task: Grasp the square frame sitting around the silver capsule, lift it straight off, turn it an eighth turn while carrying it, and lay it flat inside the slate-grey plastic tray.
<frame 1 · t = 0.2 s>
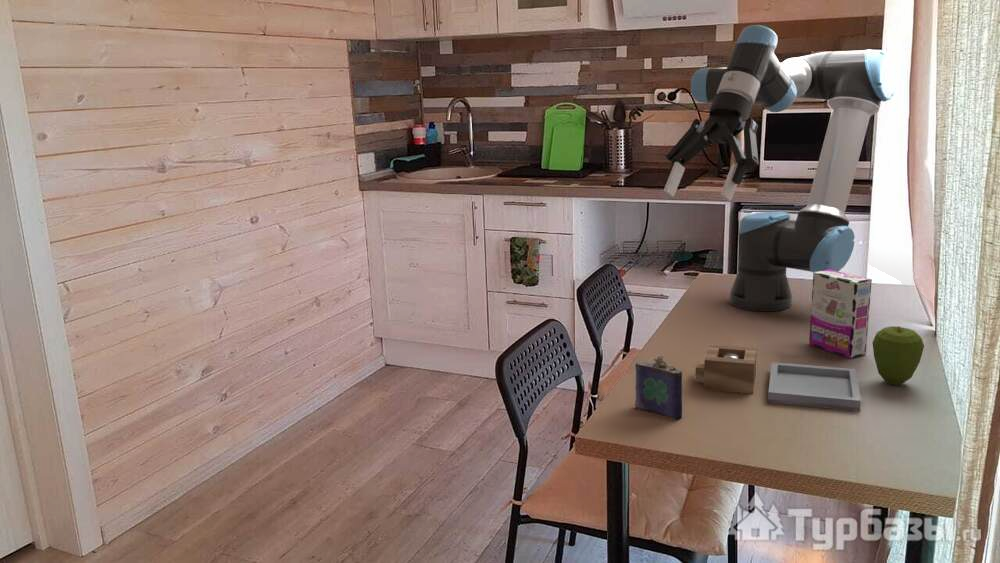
hand: (695, 196, 154), 35 cm above the table, tool tilted 35°, fingers open, 13 cm apart
tray: (812, 390, 150), on the table
flask: (658, 413, 143), on the table
apple: (894, 384, 151), on the table
silver capsule: (730, 382, 155), on the table
candy bar box: (836, 350, 170), on the table
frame: (730, 382, 155), on the table
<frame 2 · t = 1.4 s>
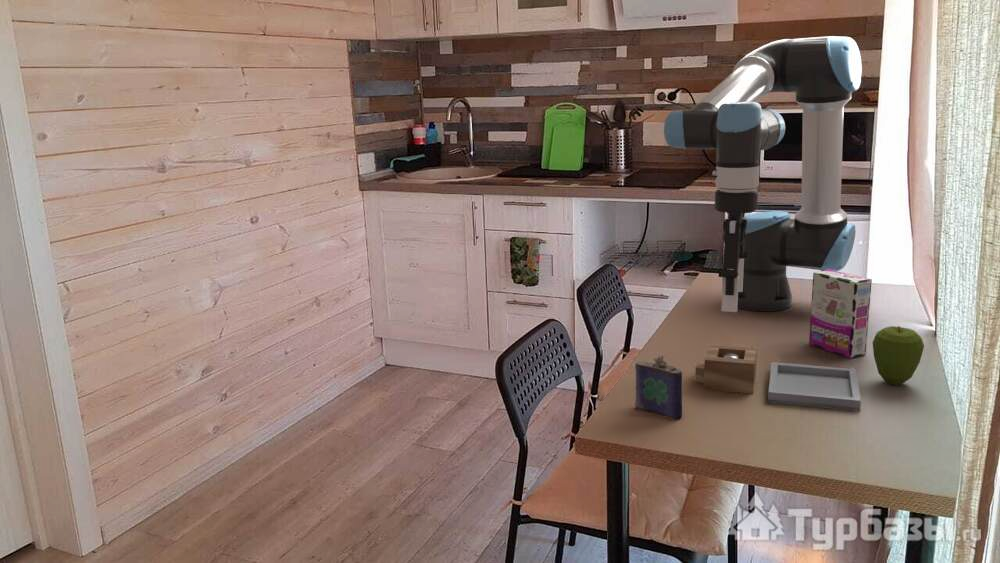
hand: (732, 300, 150), 17 cm above the table, tool pointing down, fingers open, 13 cm apart
nothing on the table moved.
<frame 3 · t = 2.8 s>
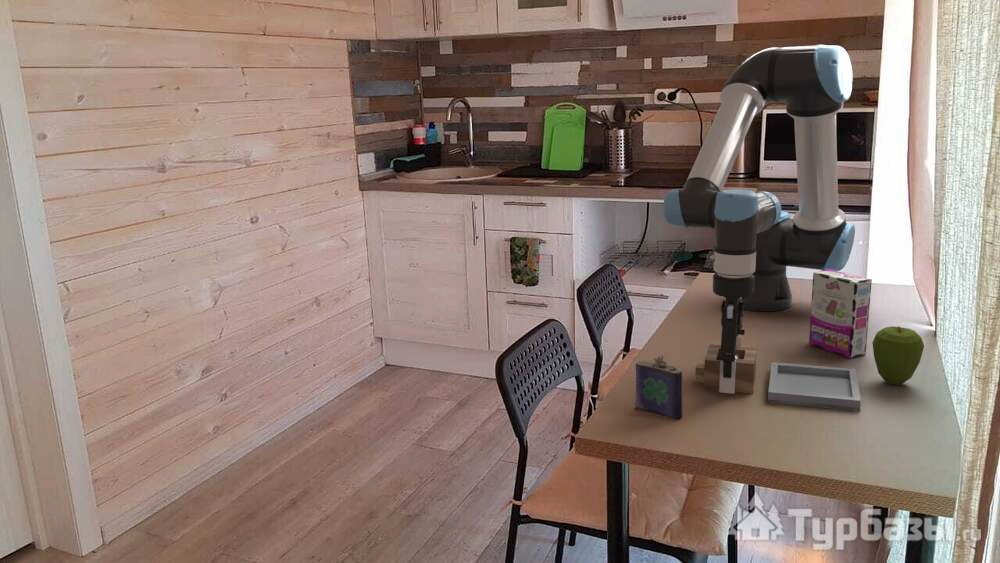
hand: (729, 379, 155), 1 cm above the table, tool pointing down, fingers open, 13 cm apart
nothing on the table moved.
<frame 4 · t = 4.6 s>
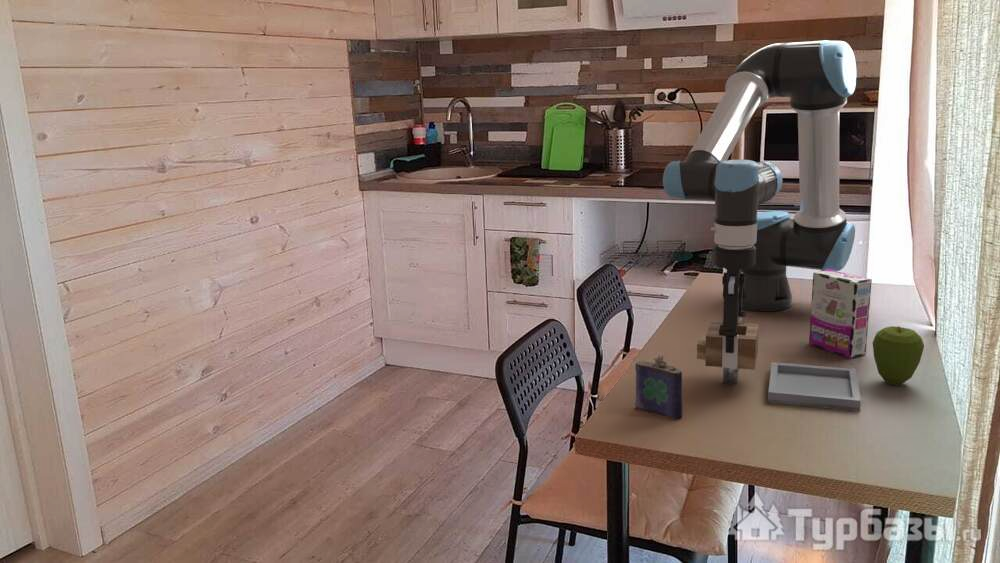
hand: (731, 357, 154), 5 cm above the table, tool pointing down, fingers closed on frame, 9 cm apart
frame: (731, 359, 154), point 5 cm above the table, touching gripper
everything else where it was.
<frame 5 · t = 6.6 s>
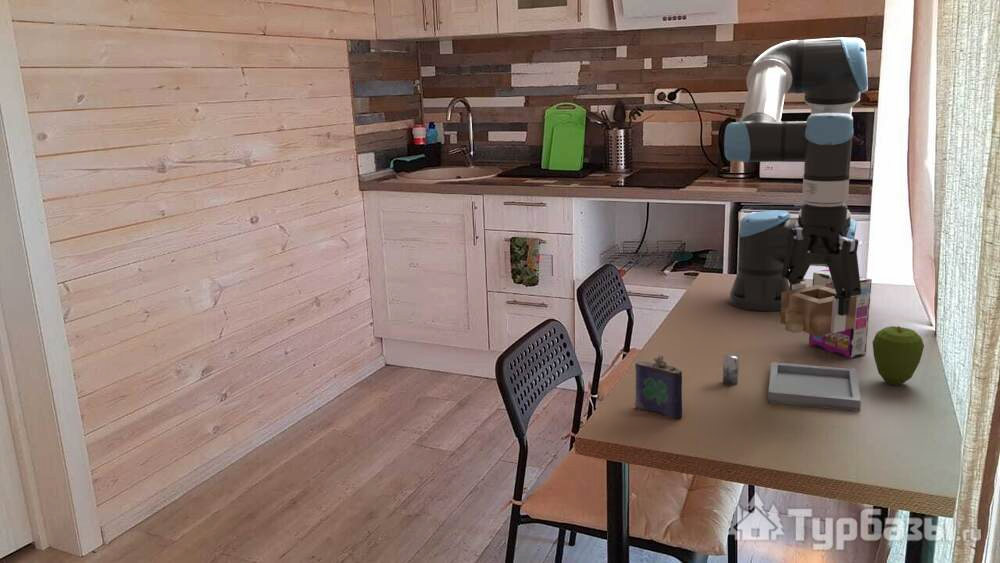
hand: (816, 323, 146), 13 cm above the table, tool pointing down, fingers closed on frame, 9 cm apart
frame: (816, 325, 146), point 13 cm above the table, touching gripper
everything else where it was.
when the fingers open (1 cm above the table, at t = 9.1 s): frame stays where it is, resting on tray.
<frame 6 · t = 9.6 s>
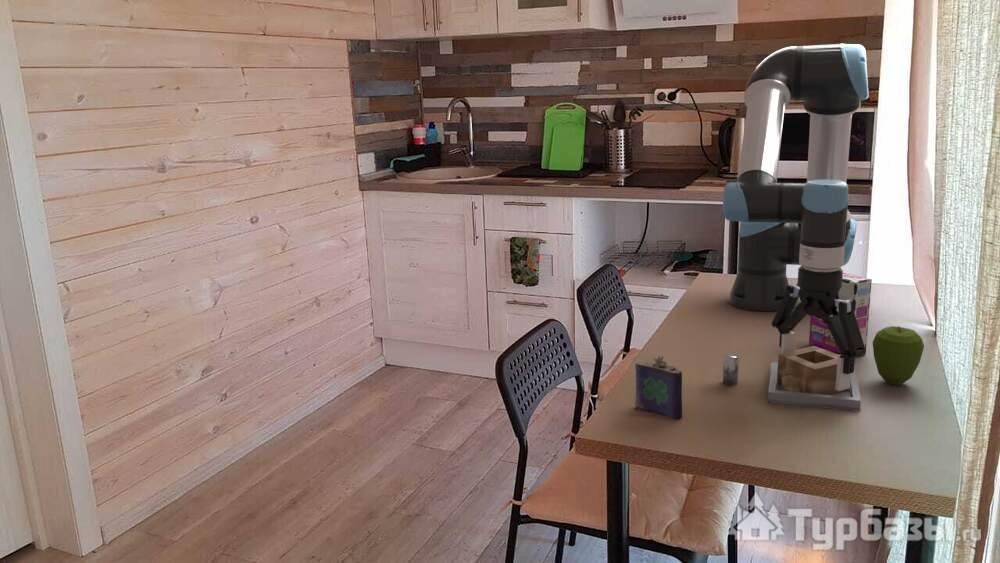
hand: (813, 376, 149), 3 cm above the table, tool pointing down, fingers open, 13 cm apart
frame: (812, 387, 150), point 1 cm above the table, touching tray
everything else where it was.
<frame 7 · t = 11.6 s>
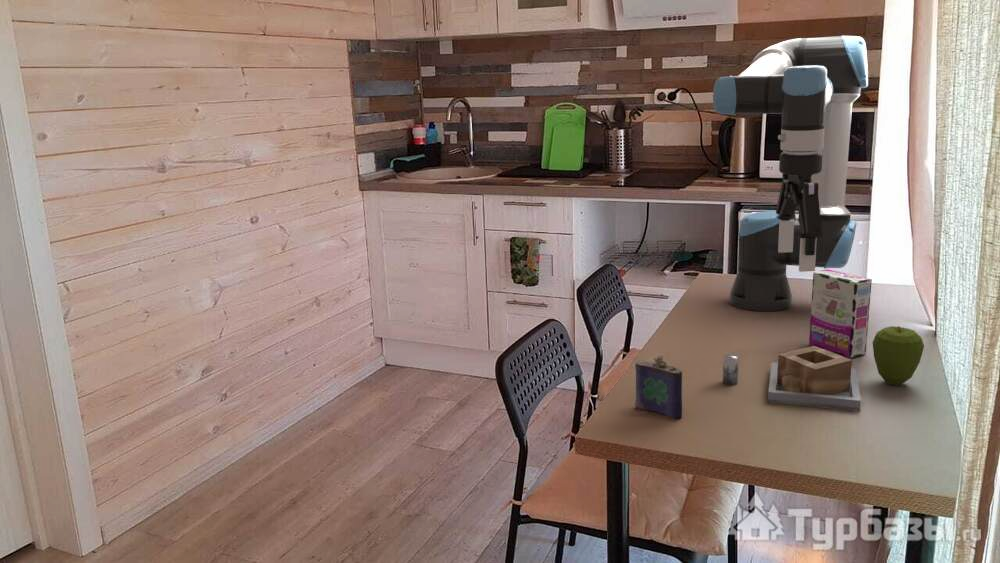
hand: (795, 261, 155), 22 cm above the table, tool pointing down, fingers open, 13 cm apart
nothing on the table moved.
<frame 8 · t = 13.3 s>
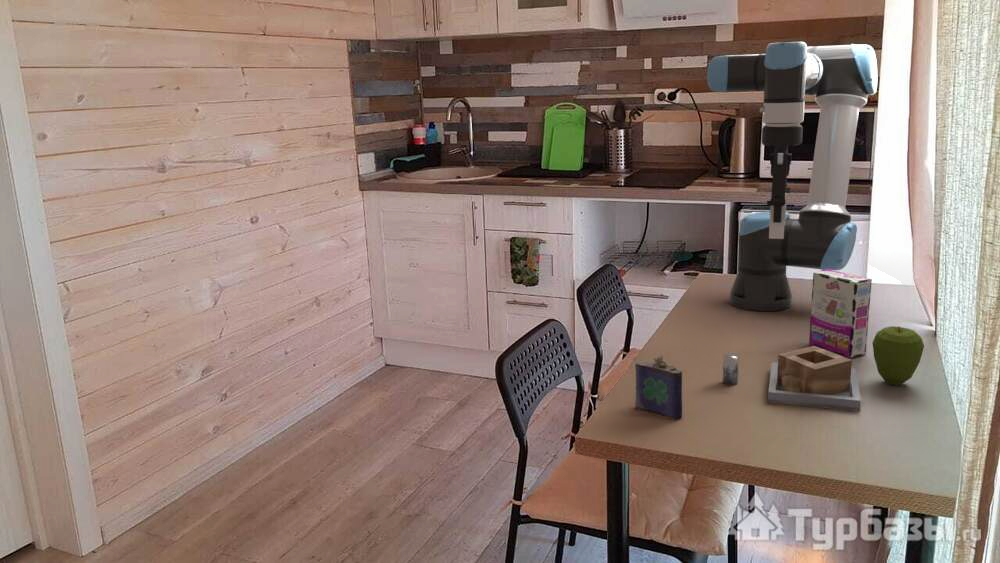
hand: (777, 231, 161), 27 cm above the table, tool pointing down, fingers open, 13 cm apart
nothing on the table moved.
at the end: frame inside the target area on the tray (0.1 cm from its centre), point 0.6 cm above the tray's base; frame tilted 0°; the gripper is holding nothing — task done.
